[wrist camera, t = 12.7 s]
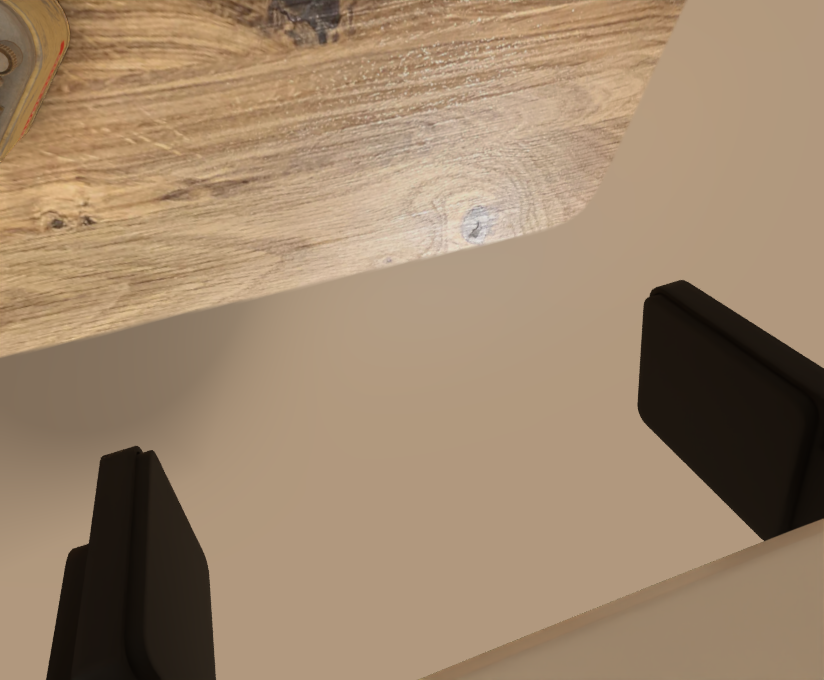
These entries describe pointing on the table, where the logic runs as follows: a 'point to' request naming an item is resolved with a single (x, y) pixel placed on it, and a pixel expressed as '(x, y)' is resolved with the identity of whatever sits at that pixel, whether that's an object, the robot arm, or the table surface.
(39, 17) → the lighter
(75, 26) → the table surface
